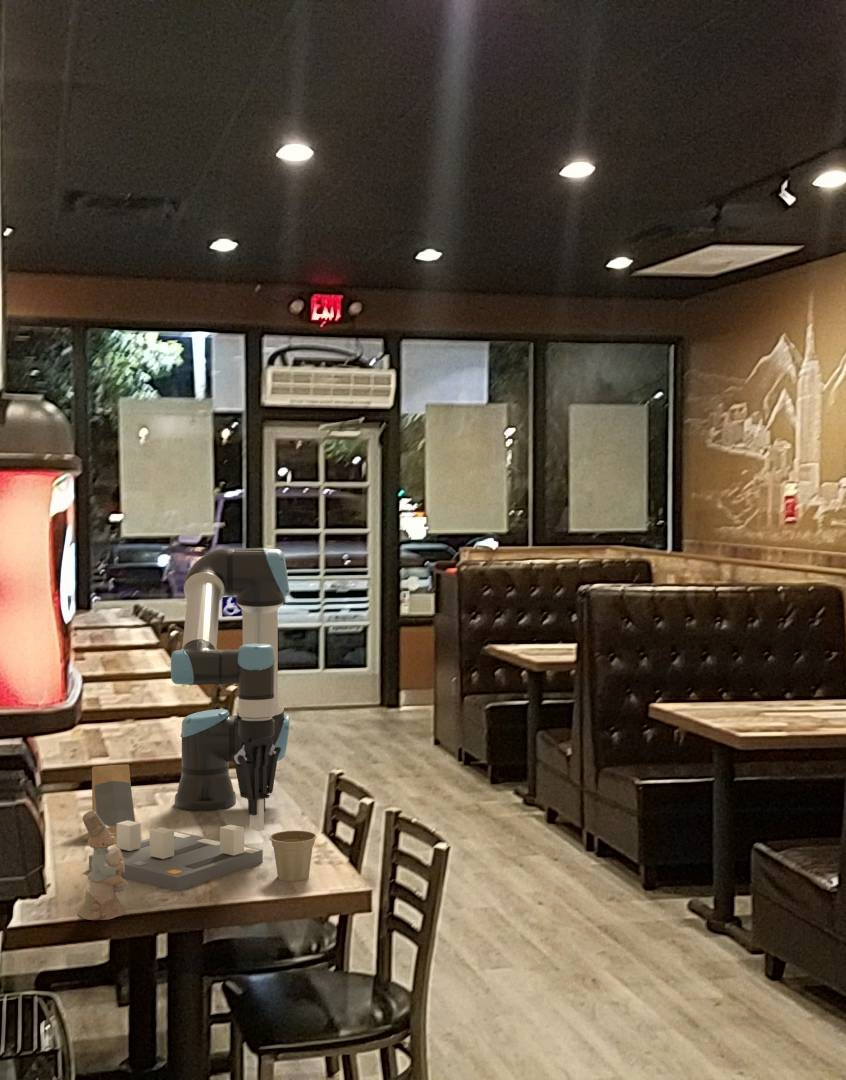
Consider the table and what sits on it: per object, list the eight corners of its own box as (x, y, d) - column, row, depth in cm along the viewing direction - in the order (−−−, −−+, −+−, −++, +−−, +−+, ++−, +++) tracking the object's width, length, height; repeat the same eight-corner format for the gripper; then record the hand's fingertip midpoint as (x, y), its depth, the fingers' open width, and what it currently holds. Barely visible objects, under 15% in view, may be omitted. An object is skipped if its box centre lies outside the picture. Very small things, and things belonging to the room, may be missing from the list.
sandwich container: (99, 848, 277) (99, 780, 276) (91, 831, 291) (91, 766, 290) (139, 844, 280) (138, 777, 279) (129, 827, 294) (129, 763, 293)
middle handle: (160, 852, 260) (160, 827, 260) (174, 855, 258) (174, 830, 258) (149, 855, 258) (149, 830, 258) (163, 858, 256) (163, 833, 255)
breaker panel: (175, 844, 279) (175, 830, 279) (262, 863, 264) (262, 848, 263) (88, 870, 259) (88, 854, 259) (177, 892, 244) (177, 876, 244)
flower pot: (270, 872, 258) (270, 830, 257) (317, 871, 258) (317, 829, 258) (268, 886, 248) (268, 842, 248) (316, 885, 249) (316, 841, 249)
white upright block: (230, 849, 263) (230, 824, 263) (244, 852, 260) (244, 827, 260) (219, 852, 260) (219, 827, 260) (234, 855, 258) (233, 830, 258)
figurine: (78, 925, 225) (77, 814, 225) (77, 911, 233) (76, 803, 233) (129, 920, 228) (128, 810, 227) (126, 906, 236) (125, 800, 235)
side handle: (127, 844, 266) (127, 820, 266) (140, 847, 264) (140, 823, 264) (116, 848, 264) (116, 823, 264) (129, 851, 261) (129, 826, 261)
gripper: (264, 712, 273) (264, 820, 274) (221, 720, 262) (222, 833, 263) (290, 715, 269) (290, 825, 269) (248, 723, 258) (248, 838, 259)
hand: (256, 829), depth 266 cm, fingers closed
